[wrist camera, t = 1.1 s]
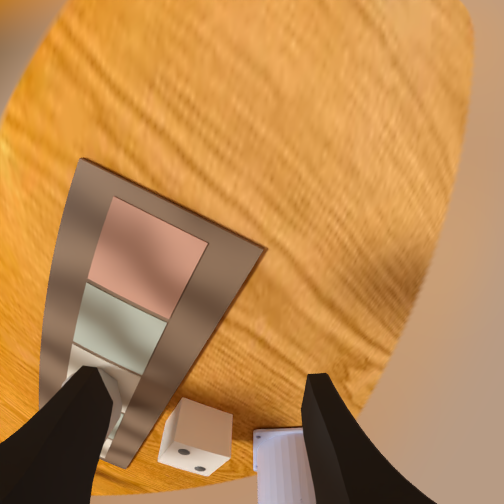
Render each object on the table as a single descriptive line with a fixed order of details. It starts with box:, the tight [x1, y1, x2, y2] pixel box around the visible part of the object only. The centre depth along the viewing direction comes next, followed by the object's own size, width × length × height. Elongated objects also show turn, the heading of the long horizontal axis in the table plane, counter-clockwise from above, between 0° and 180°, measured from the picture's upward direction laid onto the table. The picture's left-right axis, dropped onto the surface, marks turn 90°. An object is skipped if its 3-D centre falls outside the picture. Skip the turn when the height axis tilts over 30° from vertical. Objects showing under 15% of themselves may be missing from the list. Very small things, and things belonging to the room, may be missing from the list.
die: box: [158, 397, 233, 476], centre depth 25 cm, size 5×5×5 cm
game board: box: [39, 158, 263, 469], centre depth 25 cm, size 37×13×1 cm, turn 151°
